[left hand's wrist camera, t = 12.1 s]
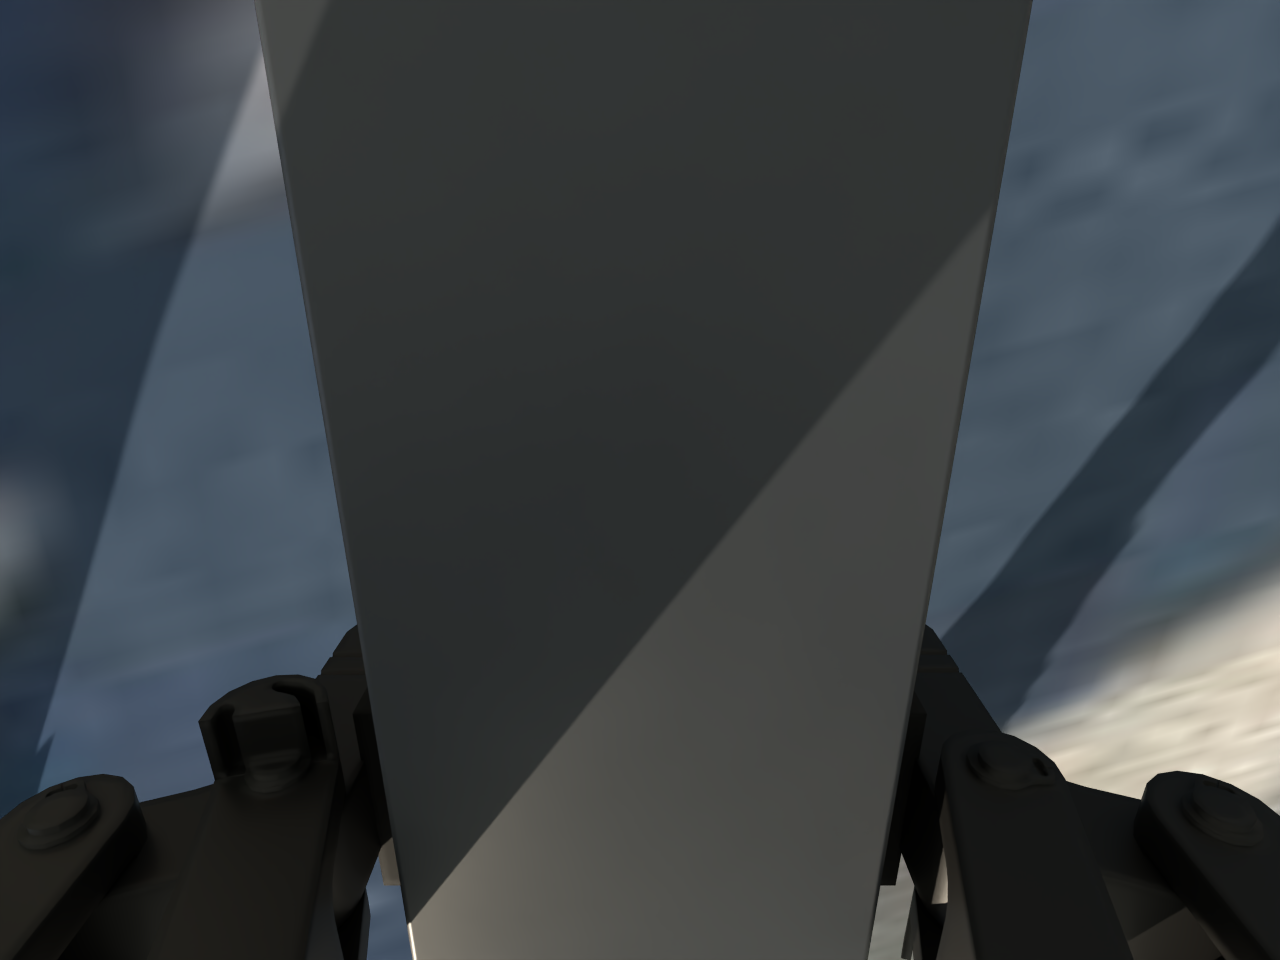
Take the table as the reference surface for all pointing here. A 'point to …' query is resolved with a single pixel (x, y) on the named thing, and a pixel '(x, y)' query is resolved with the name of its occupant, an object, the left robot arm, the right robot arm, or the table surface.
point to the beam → (641, 437)
